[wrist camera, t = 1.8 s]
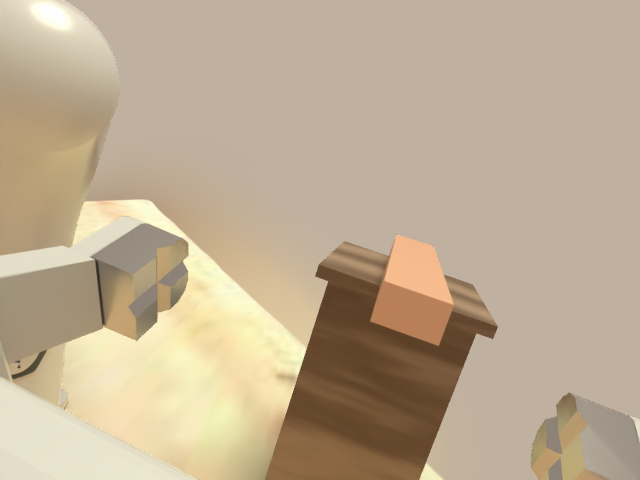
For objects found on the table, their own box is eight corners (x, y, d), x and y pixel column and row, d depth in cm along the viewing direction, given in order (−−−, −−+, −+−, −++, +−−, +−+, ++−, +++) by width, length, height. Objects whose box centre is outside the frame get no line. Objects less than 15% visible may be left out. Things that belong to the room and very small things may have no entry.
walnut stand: (385, 608, 38) (497, 326, 33) (233, 539, 40) (318, 264, 35) (392, 495, 52) (472, 284, 47) (278, 448, 54) (344, 241, 49)
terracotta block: (438, 346, 25) (454, 304, 25) (370, 321, 26) (384, 280, 25) (425, 268, 48) (433, 246, 47) (388, 256, 48) (396, 234, 48)
